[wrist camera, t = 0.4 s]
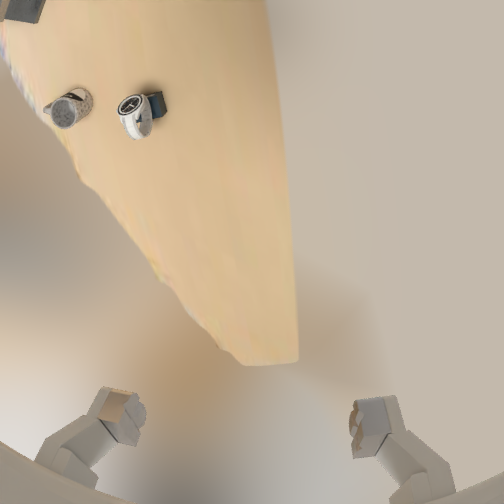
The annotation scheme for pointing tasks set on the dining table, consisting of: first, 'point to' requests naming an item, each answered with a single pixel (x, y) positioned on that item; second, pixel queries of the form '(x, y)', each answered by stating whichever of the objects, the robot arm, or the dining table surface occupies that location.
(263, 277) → the dining table surface
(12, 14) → the stand
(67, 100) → the mug
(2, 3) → the dark angled piece
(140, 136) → the watch
